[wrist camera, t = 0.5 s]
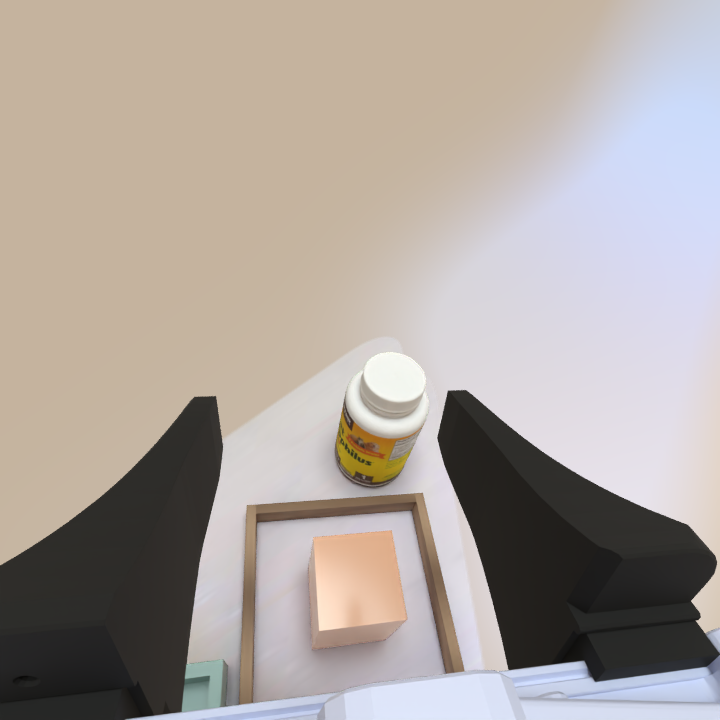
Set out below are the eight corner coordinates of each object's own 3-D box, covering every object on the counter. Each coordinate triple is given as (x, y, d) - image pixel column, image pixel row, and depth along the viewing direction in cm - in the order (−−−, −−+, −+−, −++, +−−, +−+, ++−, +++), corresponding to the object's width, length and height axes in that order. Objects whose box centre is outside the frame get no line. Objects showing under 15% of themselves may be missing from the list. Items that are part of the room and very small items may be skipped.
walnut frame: (465, 712, 24) (473, 711, 23) (239, 752, 22) (237, 752, 21) (417, 501, 32) (422, 492, 31) (248, 514, 30) (246, 505, 28)
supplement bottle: (320, 443, 34) (332, 359, 26) (377, 416, 36) (403, 331, 29) (359, 503, 31) (384, 428, 24) (417, 469, 34) (458, 390, 26)
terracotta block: (385, 640, 26) (407, 619, 21) (311, 650, 25) (319, 630, 21) (374, 562, 29) (391, 530, 24) (307, 569, 28) (313, 537, 23)
